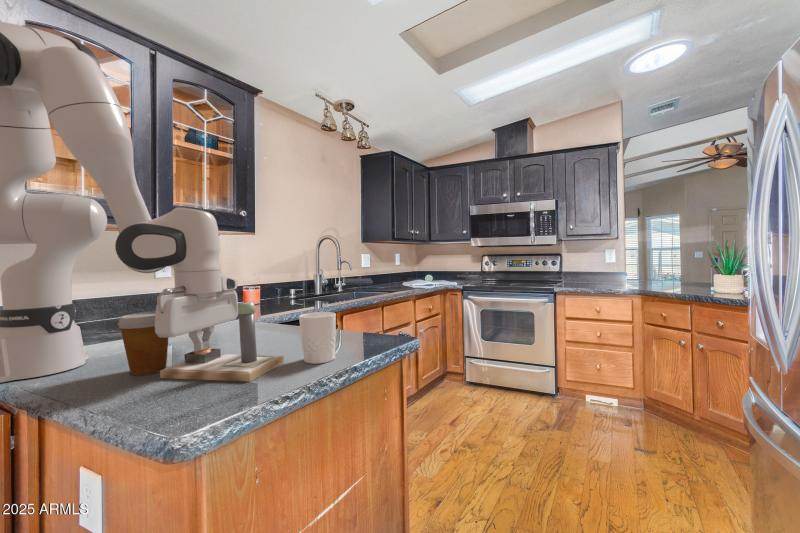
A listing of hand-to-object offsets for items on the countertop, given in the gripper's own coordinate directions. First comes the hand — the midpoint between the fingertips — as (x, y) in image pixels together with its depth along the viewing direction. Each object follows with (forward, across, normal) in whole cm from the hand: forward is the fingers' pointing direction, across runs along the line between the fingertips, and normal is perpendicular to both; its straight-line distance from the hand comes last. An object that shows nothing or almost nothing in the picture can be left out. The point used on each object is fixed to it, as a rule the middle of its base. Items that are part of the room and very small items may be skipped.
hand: (202, 349), depth 80 cm
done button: (+2, 0, 0) cm, 2 cm away
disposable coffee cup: (+4, -3, +11) cm, 12 cm away
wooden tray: (+4, -1, -6) cm, 7 cm away
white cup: (+4, +8, -23) cm, 25 cm away
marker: (+2, 0, -11) cm, 11 cm away
